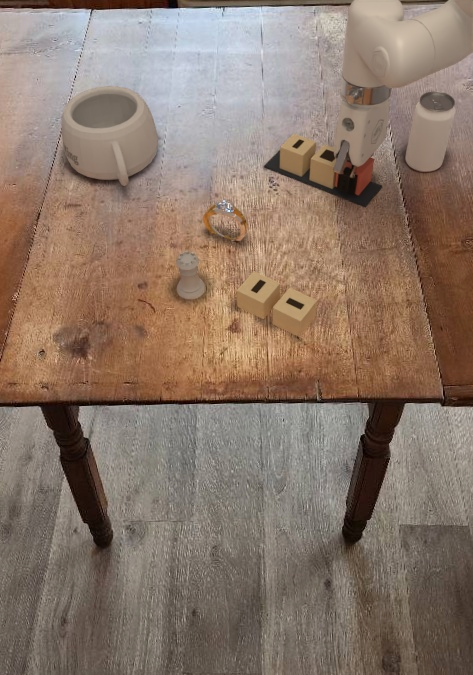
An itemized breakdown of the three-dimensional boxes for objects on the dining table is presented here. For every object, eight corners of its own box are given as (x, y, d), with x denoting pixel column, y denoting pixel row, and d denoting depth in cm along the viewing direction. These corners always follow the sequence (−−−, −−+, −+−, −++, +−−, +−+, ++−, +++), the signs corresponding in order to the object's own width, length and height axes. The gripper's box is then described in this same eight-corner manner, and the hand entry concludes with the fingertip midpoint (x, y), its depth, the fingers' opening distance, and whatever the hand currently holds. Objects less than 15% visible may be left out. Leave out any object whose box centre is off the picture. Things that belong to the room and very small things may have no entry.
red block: (371, 180, 115) (374, 158, 111) (358, 195, 112) (361, 173, 109) (347, 171, 116) (350, 149, 113) (334, 186, 114) (337, 163, 110)
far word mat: (382, 187, 115) (386, 163, 111) (365, 207, 112) (369, 183, 108) (281, 149, 122) (282, 125, 119) (263, 167, 120) (263, 143, 116)
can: (437, 149, 121) (451, 88, 112) (446, 172, 117) (462, 111, 108) (401, 151, 121) (412, 90, 111) (409, 174, 117) (422, 113, 108)
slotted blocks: (359, 338, 95) (363, 316, 91) (339, 368, 92) (342, 346, 89) (241, 282, 103) (240, 259, 99) (219, 308, 100) (217, 285, 96)
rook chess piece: (195, 279, 103) (191, 241, 97) (212, 296, 101) (209, 258, 95) (171, 292, 102) (165, 254, 96) (187, 310, 100) (182, 273, 93)
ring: (250, 242, 108) (249, 204, 102) (240, 255, 106) (238, 217, 100) (212, 228, 110) (209, 190, 104) (202, 241, 109) (198, 202, 102)
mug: (61, 139, 126) (47, 91, 119) (148, 120, 129) (141, 72, 121) (80, 212, 114) (66, 163, 106) (176, 190, 116) (170, 141, 109)
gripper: (362, 122, 94) (349, 220, 109) (414, 65, 103) (395, 164, 117) (315, 106, 97) (308, 204, 111) (369, 52, 105) (356, 149, 120)
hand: (353, 182), depth 114 cm, fingers closed on red block, 4 cm apart
